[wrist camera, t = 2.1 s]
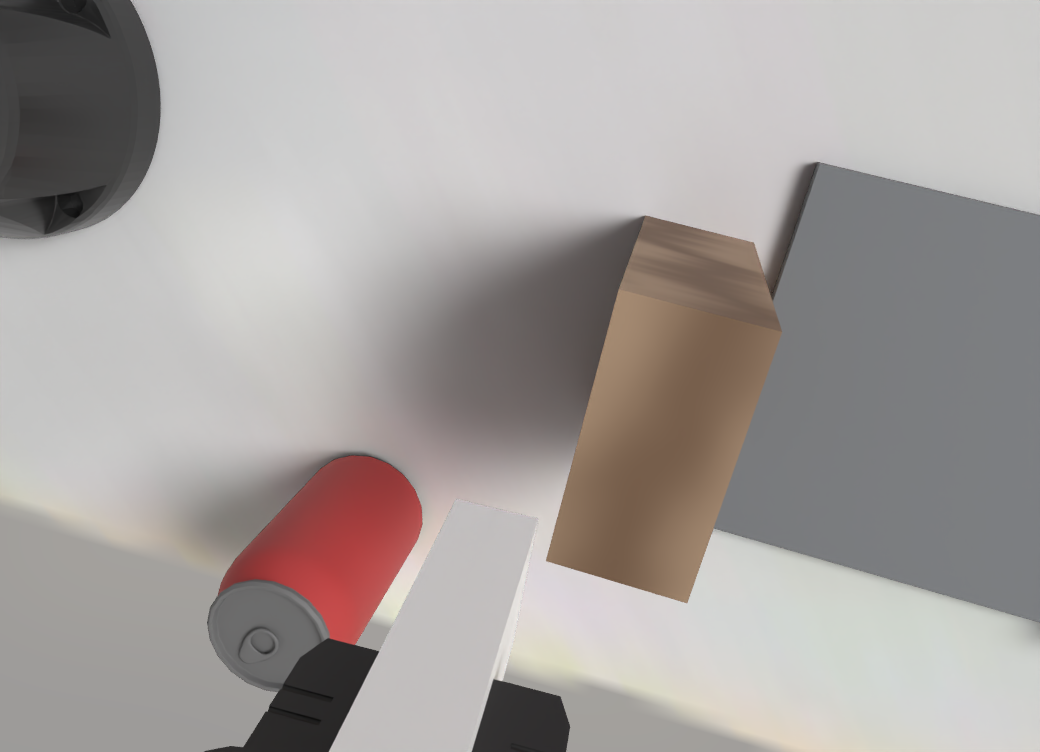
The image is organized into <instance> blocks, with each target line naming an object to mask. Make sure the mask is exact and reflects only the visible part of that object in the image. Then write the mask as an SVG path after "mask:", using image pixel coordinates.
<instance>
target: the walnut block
mask: <svg viewBox="0 0 1040 752" xmlns="http://www.w3.org/2000/svg"><path fill="white" fill-rule="evenodd" d="M781 334H782V330H781V326H780V323H779V320H778V317H777V314H776V311H775V308H774V305H773V301H772V298H771V295H770V292H769V289H768V286H767V283H766V279H765V276H764V273H763V270H762V267H761V264H760V261H759V257H758V254H757V251H756V248H755V245H754V243H753V242H749V241H745V240H741V239H737V238H733V237H729V236H725V235H721V234H717V233H713V232H709V231H705V230H701V229H697V228H693V227H689V226H685V225H681V224H677V223H673V222H669V221H665V220H661V219H657V218H653V217H649V216H645V218H644V221H643V224H642V226H641V229H640V232H639V235H638V237H637V240H636V243H635V246H634V248H633V251H632V254H631V257H630V259H629V262H628V265H627V268H626V270H625V273H624V276H623V279H622V281H621V284H620V287H619V290H618V294H617V297H616V301H615V305H614V309H613V312H612V316H611V320H610V323H609V327H608V331H607V335H606V338H605V342H604V346H603V350H602V353H601V357H600V361H599V365H598V368H597V372H596V376H595V380H594V383H593V387H592V391H591V394H590V398H589V402H588V406H587V409H586V413H585V417H584V421H583V424H582V428H581V432H580V436H579V439H578V443H577V447H576V450H575V454H574V458H573V462H572V465H571V469H570V473H569V477H568V480H567V484H566V488H565V492H564V495H563V499H562V503H561V507H560V510H559V514H558V518H557V521H556V525H555V529H554V533H553V536H552V540H551V544H550V548H549V551H548V555H547V559H546V561H548V562H551V563H555V564H558V565H561V566H565V567H568V568H571V569H575V570H578V571H581V572H585V573H588V574H591V575H595V576H598V577H601V578H605V579H608V580H611V581H615V582H618V583H621V584H625V585H628V586H631V587H635V588H638V589H641V590H645V591H648V592H651V593H655V594H658V595H661V596H665V597H668V598H671V599H675V600H678V601H681V602H685V603H687V602H688V599H689V596H690V594H691V591H692V588H693V585H694V582H695V579H696V576H697V574H698V571H699V568H700V565H701V562H702V559H703V556H704V554H705V551H706V548H707V545H708V542H709V539H710V537H711V534H712V531H713V528H714V525H715V522H716V519H717V517H718V514H719V511H720V508H721V505H722V502H723V499H724V497H725V494H726V491H727V488H728V485H729V482H730V479H731V477H732V474H733V471H734V468H735V465H736V462H737V460H738V457H739V454H740V451H741V448H742V445H743V442H744V440H745V437H746V434H747V431H748V428H749V425H750V422H751V420H752V417H753V414H754V411H755V408H756V405H757V403H758V400H759V397H760V394H761V391H762V388H763V385H764V383H765V380H766V377H767V374H768V371H769V368H770V365H771V363H772V360H773V357H774V354H775V351H776V348H777V345H778V343H779V340H780V337H781Z"/></svg>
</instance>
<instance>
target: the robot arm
mask: <svg viewBox="0 0 1040 752" xmlns="http://www.w3.org/2000/svg"><path fill="white" fill-rule="evenodd" d="M159 125H160V88H159V79H158V74H157V68H156V64H155V59H154V55H153V52H152V49H151V45H150V42H149V39H148V37H147V34H146V31H145V29H144V26H143V24H142V22H141V20H140V17H139V15H138V13H137V12H136V10H135V8H134V6H133V4H132V2H131V1H130V0H0V237H6V238H15V239H36V238H46V237H51V236H56V235H60V234H64V233H67V232H71V231H75V230H79V229H83V228H86V227H89V226H91V225H94V224H96V223H98V222H100V221H102V220H104V219H106V218H107V217H109V216H110V215H112V214H113V213H115V212H116V211H117V210H118V209H120V208H121V207H122V206H123V205H124V204H125V203H126V202H127V201H128V200H129V199H130V197H131V196H132V195H133V194H134V192H135V191H136V190H137V188H138V187H139V185H140V184H141V182H142V180H143V179H144V177H145V175H146V173H147V171H148V168H149V166H150V163H151V161H152V158H153V155H154V151H155V148H156V143H157V139H158V133H159ZM537 524H538V518H534V517H530V516H526V515H522V514H517V513H513V512H509V511H505V510H501V509H497V508H492V507H488V506H484V505H480V504H476V503H472V502H467V501H463V500H459V499H456V500H455V502H454V504H453V506H452V508H451V510H450V512H449V514H448V516H447V518H446V520H445V522H444V524H443V526H442V528H441V530H440V532H439V534H438V536H437V538H436V540H435V542H434V544H433V546H432V548H431V550H430V552H429V554H428V556H427V558H426V560H425V562H424V564H423V566H422V568H421V570H420V572H419V574H418V576H417V578H416V580H415V582H414V584H413V586H412V588H411V590H410V592H409V594H408V596H407V598H406V600H405V601H404V603H403V605H402V607H401V609H400V611H399V613H398V615H397V617H396V619H395V621H394V623H393V625H392V627H391V629H390V631H389V633H388V636H387V637H386V639H385V641H384V643H383V645H382V647H381V649H380V651H376V650H372V649H368V648H364V647H360V646H356V645H353V644H349V643H345V642H341V641H337V640H334V639H330V638H327V639H325V640H324V641H323V642H321V643H320V644H318V645H317V646H316V647H314V648H313V649H311V650H310V651H308V652H307V653H306V654H304V655H303V656H301V657H300V658H299V660H298V661H297V663H296V665H295V666H294V668H293V669H292V671H291V672H290V674H289V676H288V677H287V679H286V680H285V682H284V684H283V687H282V689H280V690H279V692H278V693H277V695H276V696H275V698H274V699H273V701H272V703H271V704H270V706H269V710H268V712H265V714H264V715H263V717H262V719H261V720H260V722H259V723H258V725H257V727H256V728H255V730H254V731H253V733H252V734H251V736H250V738H249V739H248V741H247V742H246V744H245V745H244V747H234V746H229V747H224V748H218V749H214V750H209V751H205V752H566V748H567V742H568V735H569V729H570V725H569V722H568V719H567V716H566V712H565V709H564V706H563V703H562V700H561V697H560V696H556V695H553V694H549V693H545V692H541V691H538V690H533V689H530V688H526V687H522V686H518V685H514V684H511V683H507V682H503V677H504V674H505V670H506V667H507V663H508V660H509V656H510V653H511V649H512V646H513V642H514V637H515V632H516V627H517V622H518V617H519V613H520V608H521V603H522V598H523V593H524V588H525V583H526V578H527V573H528V568H529V563H530V558H531V553H532V548H533V543H534V538H535V534H536V529H537Z"/></svg>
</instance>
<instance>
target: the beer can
mask: <svg viewBox="0 0 1040 752" xmlns="http://www.w3.org/2000/svg"><path fill="white" fill-rule="evenodd" d="M421 527H422V507H421V504H420V501H419V499H418V496H417V494H416V491H415V489H414V488H413V486H412V485H411V484H410V483H409V481H408V480H407V479H406V477H405V476H404V475H403V474H402V473H400V472H399V471H398V470H396V469H395V468H394V467H392V466H391V465H390V464H388V463H386V462H383V461H380V460H378V459H375V458H372V457H366V456H354V455H352V456H347V457H343V458H339V459H335V460H333V461H331V462H330V463H328V464H327V465H325V466H324V467H322V468H321V469H320V470H319V471H318V472H317V473H316V474H315V475H314V476H313V477H312V478H311V479H310V480H309V482H308V483H307V484H306V485H305V486H304V487H303V488H302V489H301V490H300V491H299V492H298V493H297V494H296V495H295V496H294V497H293V498H292V500H291V501H290V502H289V503H288V504H287V505H286V506H285V507H284V508H283V509H282V510H281V511H280V512H279V513H278V514H277V515H276V516H275V518H274V519H273V520H272V521H271V522H270V523H269V524H268V525H267V526H266V527H265V528H264V529H263V530H262V531H261V532H260V533H259V535H258V536H257V537H256V538H255V539H254V540H253V541H252V542H251V543H250V544H249V545H248V546H247V547H246V548H245V549H244V550H243V551H242V553H241V554H240V555H239V556H238V557H237V558H236V559H235V561H234V562H233V564H232V565H231V567H230V568H229V569H228V571H227V572H226V574H225V576H224V578H223V580H222V582H221V585H220V589H219V593H218V597H217V598H216V599H215V601H214V602H213V604H212V605H211V607H210V611H209V616H208V621H207V624H208V631H209V637H210V641H211V643H212V645H213V647H214V649H215V651H216V653H217V655H218V657H219V658H220V659H221V660H222V662H223V663H224V664H225V665H226V666H227V667H228V668H229V670H230V671H231V672H233V673H234V674H235V675H237V676H238V677H239V678H241V679H242V680H244V681H245V682H246V683H249V684H251V685H253V686H256V687H258V688H261V689H263V690H266V691H274V692H279V690H280V689H282V687H283V684H284V682H285V680H286V679H287V677H288V676H289V674H290V672H291V671H292V669H293V668H294V666H295V665H296V663H297V661H298V660H299V658H300V657H301V656H303V655H304V654H306V653H307V652H308V651H310V650H311V649H313V648H314V647H316V646H317V645H318V644H320V643H321V642H323V641H324V640H325V639H327V638H330V639H334V640H337V641H341V642H345V643H349V644H353V645H355V644H356V642H357V641H358V639H359V637H360V636H361V634H362V632H363V631H364V629H365V627H366V626H367V624H368V622H369V621H370V619H371V617H372V616H373V614H374V612H375V610H376V609H377V607H378V605H379V604H380V602H381V600H382V599H383V597H384V595H385V594H386V592H387V590H388V589H389V587H390V585H391V584H392V582H393V580H394V579H395V577H396V575H397V574H398V572H399V570H400V568H401V567H402V565H403V563H404V562H405V560H406V558H407V557H408V555H409V553H410V552H411V550H412V548H413V547H414V545H415V543H416V542H417V540H418V537H419V534H420V531H421Z"/></svg>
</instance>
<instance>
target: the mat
mask: <svg viewBox="0 0 1040 752" xmlns="http://www.w3.org/2000/svg"><path fill="white" fill-rule="evenodd" d="M771 298H772V301H773V305H774V308H775V311H776V314H777V317H778V320H779V323H780V326H781V330H782V334H781V337H780V340H779V343H778V345H777V348H776V351H775V354H774V357H773V360H772V363H771V365H770V368H769V371H768V374H767V377H766V380H765V383H764V385H763V388H762V391H761V394H760V397H759V400H758V403H757V405H756V408H755V411H754V414H753V417H752V420H751V422H750V425H749V428H748V431H747V434H746V437H745V440H744V442H743V445H742V448H741V451H740V454H739V457H738V460H737V462H736V465H735V468H734V471H733V474H732V477H731V479H730V482H729V485H728V488H727V491H726V494H725V497H724V499H723V502H722V505H721V508H720V511H719V514H718V517H717V519H716V522H715V525H714V528H715V529H718V530H722V531H725V532H729V533H732V534H735V535H739V536H742V537H746V538H749V539H753V540H756V541H760V542H763V543H767V544H770V545H774V546H777V547H780V548H784V549H787V550H791V551H794V552H798V553H801V554H805V555H808V556H812V557H815V558H819V559H822V560H825V561H829V562H832V563H836V564H839V565H843V566H846V567H850V568H853V569H857V570H860V571H864V572H867V573H871V574H874V575H877V576H881V577H884V578H888V579H891V580H895V581H898V582H902V583H905V584H909V585H912V586H916V587H919V588H922V589H926V590H929V591H933V592H936V593H940V594H943V595H947V596H950V597H954V598H957V599H961V600H964V601H967V602H971V603H974V604H978V605H981V606H985V607H988V608H992V609H995V610H999V611H1002V612H1006V613H1009V614H1013V615H1016V616H1019V617H1023V618H1026V619H1030V620H1033V621H1037V622H1040V215H1037V214H1033V213H1029V212H1024V211H1020V210H1016V209H1012V208H1008V207H1004V206H999V205H995V204H991V203H987V202H983V201H978V200H974V199H970V198H966V197H962V196H958V195H953V194H949V193H945V192H941V191H937V190H932V189H928V188H924V187H920V186H916V185H912V184H907V183H903V182H899V181H895V180H891V179H887V178H882V177H878V176H874V175H870V174H866V173H861V172H857V171H853V170H849V169H845V168H841V167H836V166H832V165H828V164H824V163H820V162H817V165H816V168H815V171H814V174H813V177H812V180H811V183H810V185H809V188H808V191H807V194H806V197H805V200H804V203H803V206H802V209H801V212H800V215H799V218H798V221H797V224H796V227H795V230H794V233H793V235H792V238H791V241H790V244H789V247H788V250H787V253H786V256H785V259H784V262H783V265H782V268H781V271H780V274H779V277H778V280H777V283H776V285H775V288H774V291H773V294H772V297H771Z"/></svg>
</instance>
